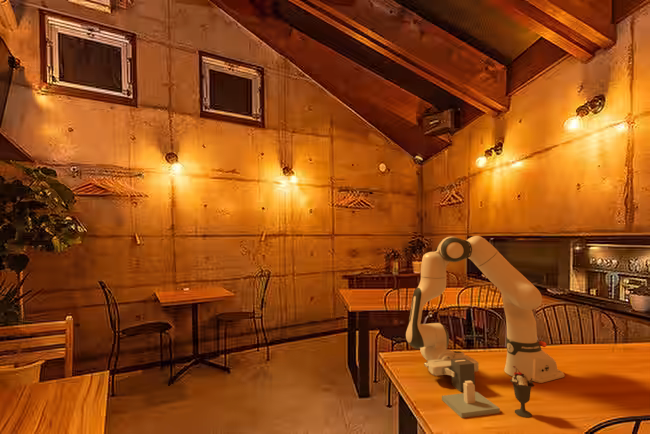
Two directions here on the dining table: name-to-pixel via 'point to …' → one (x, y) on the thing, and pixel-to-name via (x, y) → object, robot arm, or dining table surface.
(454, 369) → the slotted ballot box
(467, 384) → the post
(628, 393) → the dining table surface
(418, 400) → the dining table surface
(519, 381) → the sundae
